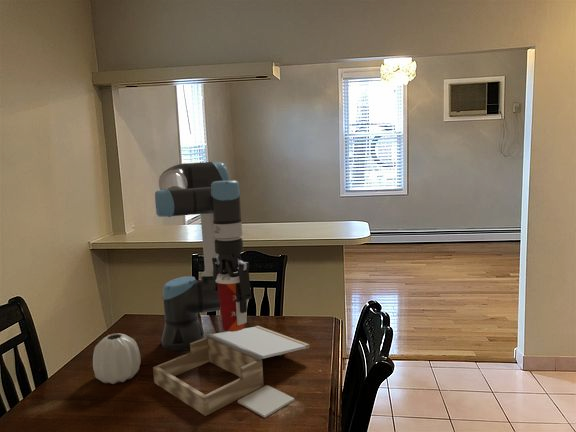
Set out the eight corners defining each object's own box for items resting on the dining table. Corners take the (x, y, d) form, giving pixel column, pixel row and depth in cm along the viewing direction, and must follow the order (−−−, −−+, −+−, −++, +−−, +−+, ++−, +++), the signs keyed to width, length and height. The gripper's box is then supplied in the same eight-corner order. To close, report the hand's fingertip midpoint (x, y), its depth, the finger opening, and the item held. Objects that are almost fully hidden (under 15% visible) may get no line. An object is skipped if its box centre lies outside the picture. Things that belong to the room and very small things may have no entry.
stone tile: (237, 402, 127) (237, 400, 127) (267, 386, 135) (267, 384, 135) (264, 417, 120) (264, 415, 119) (294, 400, 127) (294, 398, 127)
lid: (207, 348, 153) (206, 334, 152) (257, 328, 168) (257, 315, 167) (259, 373, 135) (258, 356, 134) (310, 348, 150) (309, 333, 149)
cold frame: (154, 382, 140) (152, 357, 139) (210, 359, 154) (208, 336, 153) (205, 416, 121) (203, 387, 120) (263, 385, 136) (262, 359, 134)
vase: (128, 363, 154) (125, 324, 152) (149, 376, 144) (145, 335, 142) (86, 378, 144) (82, 337, 142) (105, 394, 135) (101, 350, 133)
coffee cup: (243, 334, 123) (239, 278, 121) (214, 332, 125) (210, 278, 123) (252, 322, 131) (249, 270, 129) (225, 321, 133) (222, 270, 131)
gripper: (196, 236, 130) (202, 316, 133) (239, 244, 115) (245, 333, 118) (218, 232, 135) (223, 309, 138) (262, 239, 120) (267, 324, 123)
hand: (233, 320), depth 128 cm, fingers closed on coffee cup, 7 cm apart
